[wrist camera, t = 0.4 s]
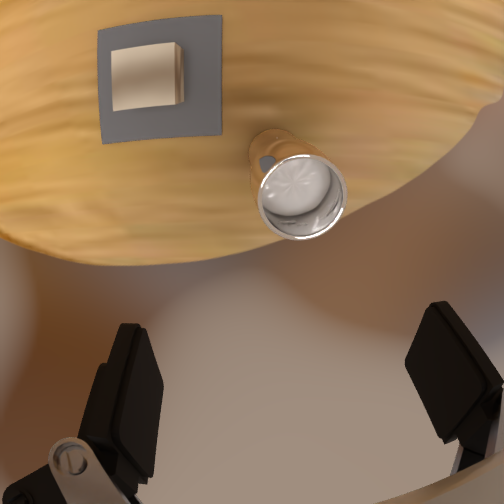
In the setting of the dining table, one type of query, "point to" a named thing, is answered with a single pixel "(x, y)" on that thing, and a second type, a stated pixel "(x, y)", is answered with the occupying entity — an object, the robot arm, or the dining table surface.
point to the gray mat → (195, 80)
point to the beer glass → (295, 185)
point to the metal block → (147, 76)
